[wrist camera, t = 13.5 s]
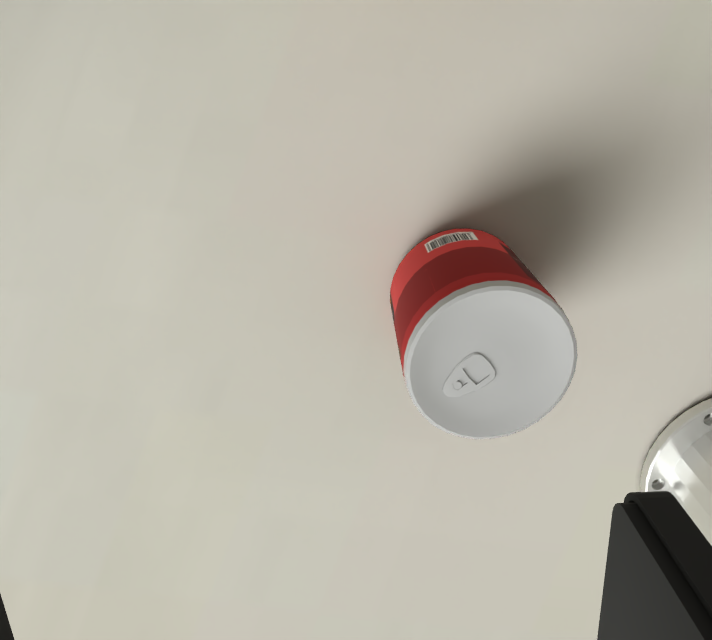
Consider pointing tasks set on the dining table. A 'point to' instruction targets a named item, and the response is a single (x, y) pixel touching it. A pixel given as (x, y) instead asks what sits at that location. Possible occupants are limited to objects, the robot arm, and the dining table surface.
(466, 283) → the canned food
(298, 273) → the dining table surface
